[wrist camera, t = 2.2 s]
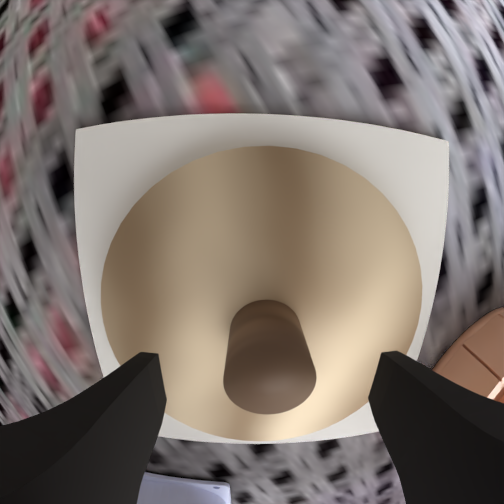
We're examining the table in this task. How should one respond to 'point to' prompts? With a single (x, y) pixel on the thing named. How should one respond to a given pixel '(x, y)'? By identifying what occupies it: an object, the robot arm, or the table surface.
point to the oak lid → (262, 290)
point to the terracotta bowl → (478, 357)
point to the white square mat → (246, 135)
